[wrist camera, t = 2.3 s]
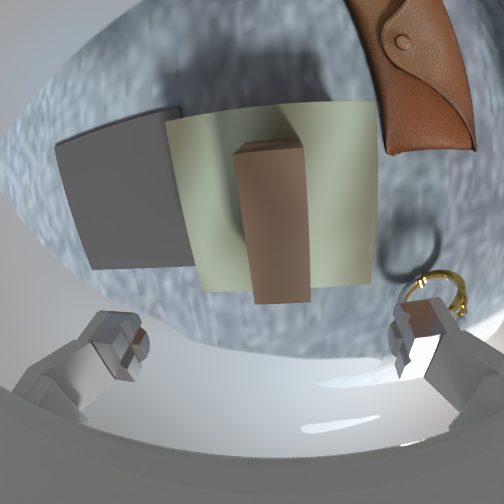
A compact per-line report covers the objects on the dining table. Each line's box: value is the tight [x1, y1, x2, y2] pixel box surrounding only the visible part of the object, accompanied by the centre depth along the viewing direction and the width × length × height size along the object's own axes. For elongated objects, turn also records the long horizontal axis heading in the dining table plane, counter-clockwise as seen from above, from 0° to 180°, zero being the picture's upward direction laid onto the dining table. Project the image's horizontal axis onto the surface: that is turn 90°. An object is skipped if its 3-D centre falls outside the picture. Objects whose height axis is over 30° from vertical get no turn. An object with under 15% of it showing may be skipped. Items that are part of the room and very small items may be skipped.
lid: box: [165, 101, 378, 304], centre depth 15 cm, size 12×12×5 cm
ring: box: [397, 270, 468, 327], centre depth 21 cm, size 7×3×8 cm, turn 123°
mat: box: [54, 107, 196, 270], centre depth 24 cm, size 14×14×1 cm
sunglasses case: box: [346, 0, 477, 156], centre depth 14 cm, size 18×7×7 cm
